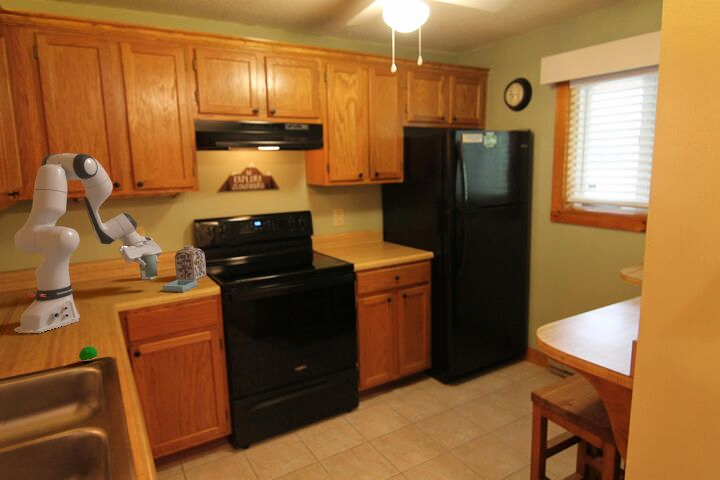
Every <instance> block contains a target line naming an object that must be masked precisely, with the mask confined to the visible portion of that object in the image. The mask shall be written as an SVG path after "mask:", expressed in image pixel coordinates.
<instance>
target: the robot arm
mask: <svg viewBox="0 0 720 480" xmlns="http://www.w3.org/2000/svg"><path fill="white" fill-rule="evenodd" d="M77 180H80V182H81V184H82V186H83V188H84V191H85V195H84V197H83V199H82V201H83V205H84V208H85V210H86V213H87V215H88V218H89V221H90V223H91V226H92V229H93V233H94V237H95V239H96V240H97V241H98V242H99V243H100V244H103V245H111V244H112V243H114V242H115V241H116V240H120V241H121V243H122V245H123V246H120V247H119V248H118V251H119V253H120V254H121V256H122V258H123V261H125V262H126V263H127V264H130V263H138V264H142V266H143V267H145V266H147V263H146V262H144V261H142V260H144V256H143V254H144V253H148V252H156V264H158V263H159V260H158V257H160V256H161V254H162V253H163V250H162V248H161V246H159V244H157V243H156V242H155V241H154V238H152V237H150V236H144V235H140V233H138V232H137V231H136V230H137V228H138V227H137V226H138V223H137V221H135V219H134V218H133V217H132V216H131V214H129V213H125V212H122V213H120V214H118V215H116V216H113V217H112V218H111V219H109V220H107V221H105V222H102V220H101V215H100V214H99V209H100V207H101V206H102V204H103V203H104V202H105V201H106V200H107V199H108V198H109V197H110V196H111V194H112V192H113V188H114V187H113V182H112V180H111V178H110V177H109V174H108V173H107V171H106V170H105V169H104V167H103V165H101V163H100V162H99V161H98V160H97V159H96V158H94V157H93V156H91V155H90V154H85V153H69V152H67V153H65V152H63V153H54V154H53V153H52V154H49V155H47V156H45V157H44V158H43V159H42V161H41V163H40V167H39V168H38V170H37V173H36V177H35V181H34V187H33V197H32V206H31V211H30V213H29V216H28V218H27V221H26V222H25V224H24V225H23V226H22V227H21V228H20V229H18V230H17V231H16V233H15V234H14V237H13V242H14V245H15V247H16V248H17V249H18V250H19V251H21V252H25V253H29V254H40V255H42V258H43V259H42V262H41V264H40V265H39V266H37V267H36V269H35V271H34V272H35V273H34V274H35V279H36V285H37V289H36V292H33V291H32V292H28V294H27V297H28V298H30V299H31V298H34V300H33V301H32V303H31V304H29V306H28V307H27V308H26V309H25V310H24V311H23V312H22V313H21V315H20V325H19V326H17V327H14V329H13V332H14V331H15V332H14V333H16V332H18V333H17V334H19V333H39V334H42V333H41V332H43V333H45V332H44V331H47V330H50V331H52V330H51V329H53V330H55V329H54V328H56V329H59V328H62V327H64V326H68V325H71V323H72V324H74V323H77V322H80V318H81V315H80V313H79V311H78V309H77V307H76V304H75V303H76V302H75V301H74V297H73V293H74V290H73V284H72V283H71V278H70V270H69V268H70V267H69V265H70V261H71V260H70V259H71V258H72V254H74V252H75V251H76V250H77V249H78V247H79V245H80V242H81V239H80V235H79V233H78V231H77V230H75V229H74V228H71V227H66V226H63V225H61V226H60V225H59V226H58V225H57V226H56V223H57V221H58V220H59V219H60V218H61V217H63V216H64V215H65V214H66V212H67V202H68V182H69V181H77ZM61 326H62V327H61ZM58 327H59V328H58ZM47 332H48V331H47Z"/></svg>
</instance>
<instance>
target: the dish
mask: <svg viewBox="0 0 720 480" xmlns="http://www.w3.org/2000/svg"><path fill="white" fill-rule="evenodd" d="M198 286H199V285H198V279H197V280H177V279H175V280H174V281H171V282H168V283H165V284H163V285H162V291H163V292H167V293H169V292H170V293H185V292H188V291H190V290H193V289H195V288H196V287H197V288H198Z"/></svg>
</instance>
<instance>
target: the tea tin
mask: <svg viewBox="0 0 720 480" xmlns="http://www.w3.org/2000/svg"><path fill="white" fill-rule="evenodd" d="M143 256H144V262H146V263H147V266H145V275H146V277H155V276H156V277H157V276H158V274H159V273H158V265H157V264H158V263H157V264H156V252H148V253H144V254H143ZM156 277H155V278H156Z"/></svg>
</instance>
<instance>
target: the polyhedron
mask: <svg viewBox="0 0 720 480" xmlns="http://www.w3.org/2000/svg"><path fill="white" fill-rule="evenodd" d="M98 353H99V352H98V349H97V348H96V347H95V346H91V345H89V346H88V345H87V346H85V347H83V348H82V349H81V350H80V351H79V355H78V356H79V359H80V360H81V361H82V360H87V359H92V358H94V357H96V356H98V355H99V354H98ZM96 358H97V357H96Z"/></svg>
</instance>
